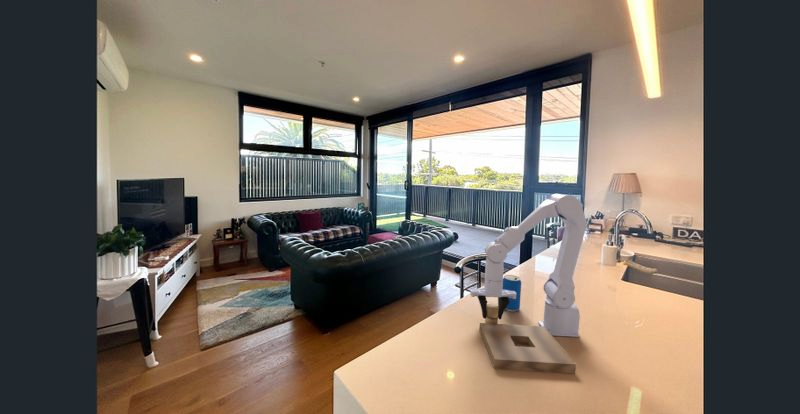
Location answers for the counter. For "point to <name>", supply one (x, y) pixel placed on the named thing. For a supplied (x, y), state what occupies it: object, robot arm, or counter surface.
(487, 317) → the oak peg
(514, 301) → the beverage can
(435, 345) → the counter surface
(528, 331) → the hole board
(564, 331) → the robot arm
